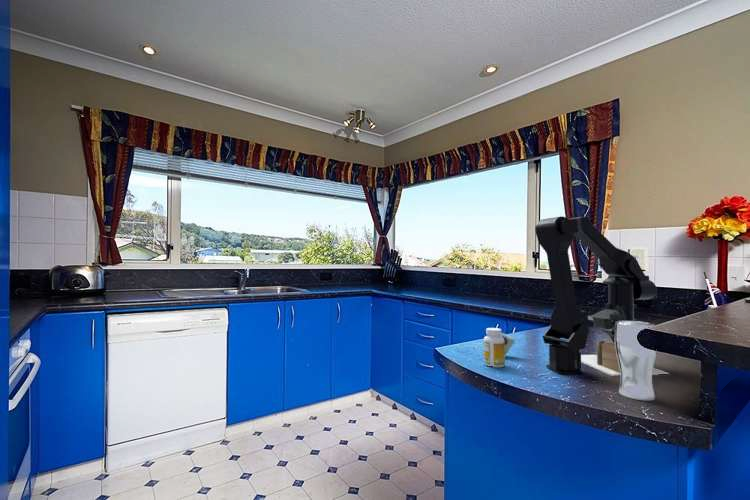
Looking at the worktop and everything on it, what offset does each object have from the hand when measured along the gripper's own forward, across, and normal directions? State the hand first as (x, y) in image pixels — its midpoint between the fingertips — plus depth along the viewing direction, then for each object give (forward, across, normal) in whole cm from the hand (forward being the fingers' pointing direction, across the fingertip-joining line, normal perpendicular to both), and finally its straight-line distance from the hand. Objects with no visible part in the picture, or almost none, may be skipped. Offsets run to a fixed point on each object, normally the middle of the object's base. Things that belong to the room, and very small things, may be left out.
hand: (621, 356), depth 97 cm
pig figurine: (+2, -17, -26) cm, 31 cm away
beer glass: (+2, +18, -20) cm, 27 cm away
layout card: (+2, +1, -4) cm, 4 cm away
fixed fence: (+2, +5, -9) cm, 11 cm away
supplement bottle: (+2, -10, -34) cm, 36 cm away
